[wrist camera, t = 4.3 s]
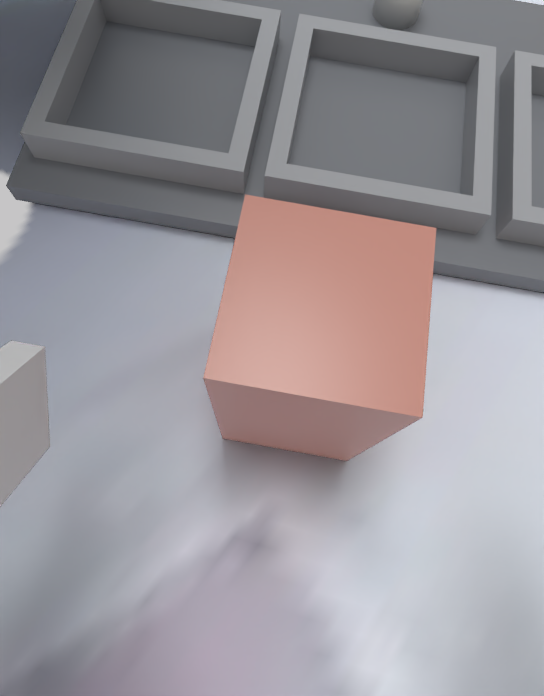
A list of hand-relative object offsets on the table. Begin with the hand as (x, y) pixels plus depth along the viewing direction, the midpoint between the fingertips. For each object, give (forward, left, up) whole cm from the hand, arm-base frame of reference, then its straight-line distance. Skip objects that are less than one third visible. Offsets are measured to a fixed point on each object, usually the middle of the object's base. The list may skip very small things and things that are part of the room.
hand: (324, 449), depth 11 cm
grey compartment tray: (+1, +18, -8) cm, 20 cm away
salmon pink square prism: (-1, +3, -8) cm, 9 cm away
